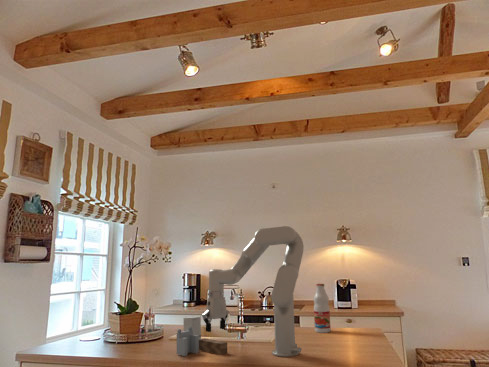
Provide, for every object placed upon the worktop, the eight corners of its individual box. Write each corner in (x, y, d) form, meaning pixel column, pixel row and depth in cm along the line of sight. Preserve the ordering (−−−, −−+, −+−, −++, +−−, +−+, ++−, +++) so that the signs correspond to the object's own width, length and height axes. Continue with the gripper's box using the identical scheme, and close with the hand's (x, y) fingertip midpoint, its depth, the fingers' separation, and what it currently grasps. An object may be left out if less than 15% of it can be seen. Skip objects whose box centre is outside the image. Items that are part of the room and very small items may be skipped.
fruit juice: (332, 330, 247) (329, 283, 252) (328, 333, 239) (325, 284, 243) (317, 329, 251) (315, 283, 256) (312, 332, 243) (310, 284, 248)
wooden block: (227, 353, 197) (227, 342, 197) (221, 355, 194) (221, 344, 194) (204, 348, 207) (204, 338, 208) (198, 350, 204) (198, 339, 205)
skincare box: (192, 348, 209) (192, 318, 212) (182, 347, 212) (182, 317, 215) (201, 344, 217) (201, 315, 219) (192, 343, 220) (192, 315, 222)
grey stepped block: (198, 352, 199) (198, 327, 201) (184, 356, 193) (184, 330, 195) (190, 350, 203) (190, 326, 205) (176, 354, 197) (176, 329, 199)
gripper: (208, 296, 194) (207, 333, 192) (233, 293, 207) (233, 328, 204) (198, 295, 199) (197, 331, 197) (223, 292, 212) (222, 327, 209)
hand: (215, 330), depth 200 cm, fingers open, 9 cm apart
